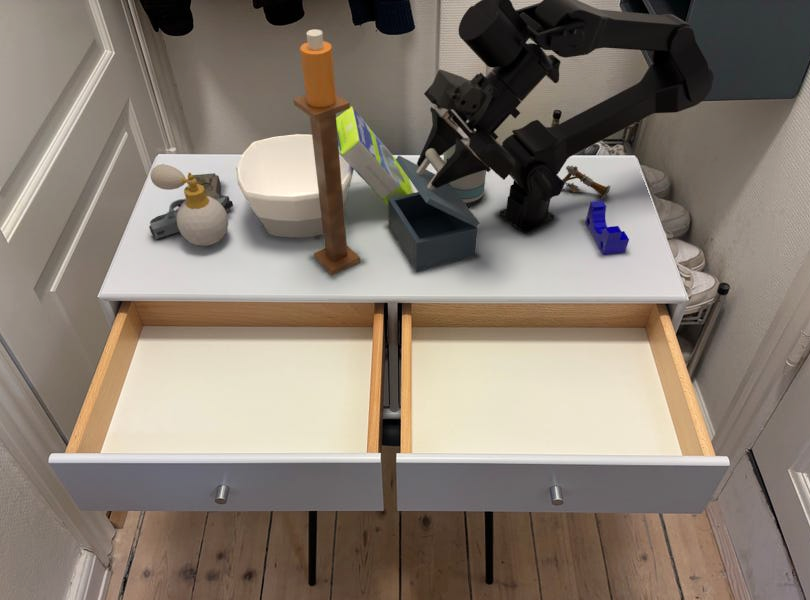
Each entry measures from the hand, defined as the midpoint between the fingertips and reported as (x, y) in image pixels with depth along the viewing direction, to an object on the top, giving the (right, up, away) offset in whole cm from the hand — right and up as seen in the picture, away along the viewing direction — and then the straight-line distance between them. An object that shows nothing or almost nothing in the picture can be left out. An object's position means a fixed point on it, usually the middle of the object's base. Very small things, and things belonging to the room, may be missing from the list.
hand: (426, 175), depth 93 cm
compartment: (+1, -8, +9) cm, 12 cm away
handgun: (-41, +4, +18) cm, 45 cm away
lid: (+2, -2, +3) cm, 4 cm away
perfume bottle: (-35, -7, +10) cm, 37 cm away
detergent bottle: (-13, +6, -12) cm, 19 cm away
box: (-3, +1, +16) cm, 16 cm away
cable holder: (+28, -7, +10) cm, 30 cm away
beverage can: (+7, +1, +17) cm, 19 cm away
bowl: (-19, -3, +14) cm, 24 cm away
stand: (-13, -11, +6) cm, 18 cm away
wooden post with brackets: (+27, +2, +17) cm, 32 cm away
